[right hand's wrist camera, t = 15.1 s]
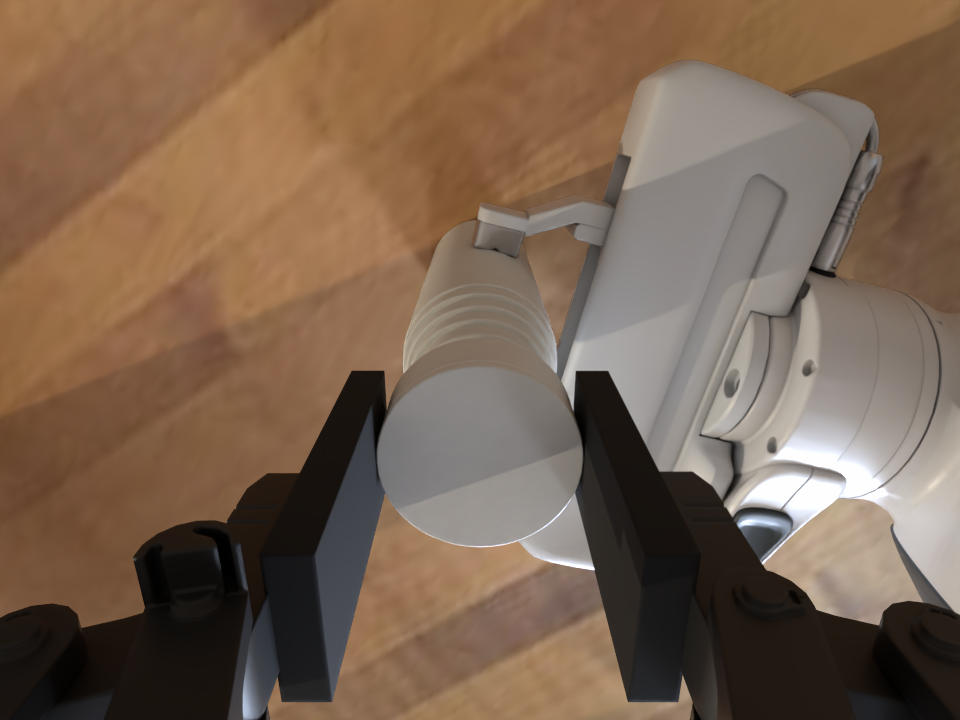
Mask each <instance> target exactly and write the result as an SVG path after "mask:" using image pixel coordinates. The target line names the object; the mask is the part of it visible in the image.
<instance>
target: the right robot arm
mask: <svg viewBox="0 0 960 720" xmlns="http://www.w3.org/2000/svg"><path fill="white" fill-rule="evenodd" d="M386 412H387V408H386V391H385V374H384V371H351V373H350V375H349V377H348V379H347V381H346V383H345V385H344V387H343V389H342V391H341V393H340V395H339V397H338V399H337V401H336V403H335V405H334V407H333V409H332V411H331V413H330V415H329V417H328V419H327V421H326V423H325V425H324V426H323V428H322V430H321V432H320V434H319V436H318V438H317V440H316V442H315V444H314V446H313V448H312V450H311V452H310V454H309V456H308V458H307V460H306V462H305V464H304V466H303V468H302V470H301V472H300V473H267V474H266V475H265V476H263V477H262V478H261V479H259V480H258V481H257V482H255V483H254V484H253V485H251V486H250V487H249V488H247V490H246V491H245V493H244V494H243V496H242V498H241V499H240V501H239V502H238V504H237V506H236V509H234V510H233V512H232V514H231V515H230V517H229V518H228V520H227V524H226V523H223V522H219V521H194V522H189V523H185V524H181V525H176V526H174V527H172V528H170V529H167V530H165V531H163V532H160V533H158V534H157V535H155V536H154V537H152V538H151V539H150V540H148V541H147V542H146V543H144V544H143V545H142V546H141V547H140V549H139V550H138V551H137V553H136V554H135V555H134V557H133V560H134V564H135V568H136V572H137V576H138V580H139V584H140V589H141V593H142V597H143V601H144V605H145V609H144V612H143V613H141V614H138V615H134V616H131V617H128V618H124V619H120V620H115V621H111V622H106V623H102V624H98V625H93V626H89V627H85V628H81V625H80V621H79V618H78V615H77V614H76V613H75V612H74V611H73V610H72V609H71V608H69V607H68V606H63V605H58V604H44V605H36V606H30V607H27V608H24V609H21V610H17V611H15V612H12V613H9V614H7V615H5V616H3V617H1V618H0V720H270V717H269V711H268V705H267V704H268V701H269V699H270V696H271V693H272V690H273V688H274V685H275V682H276V679H277V677H278V681H279V687H280V694H281V700H282V702H332V700H333V696H334V692H335V688H336V684H337V680H338V676H339V672H340V668H341V664H342V660H343V657H344V653H345V649H346V645H347V641H348V637H349V633H350V629H351V625H352V621H353V617H354V613H355V609H356V605H357V601H358V597H359V594H360V590H361V586H362V582H363V578H364V574H365V570H366V566H367V562H368V558H369V554H370V550H371V546H372V542H373V538H374V534H375V531H376V527H377V523H378V519H379V515H380V511H381V507H382V503H383V499H384V495H385V491H384V489H383V487H382V484H381V481H380V478H379V474H378V469H377V462H376V450H377V443H378V437H379V434H380V431H381V428H382V425H383V421H384V418H385V415H386ZM573 412H574V415H575V418H576V422H577V425H578V428H579V431H580V434H581V437H582V443H583V455H584V461H583V469H582V474H581V478H580V481H579V484H578V486H577V489H576V491H575V495H576V499H577V503H578V507H579V511H580V515H581V519H582V523H583V527H584V531H585V534H586V538H587V542H588V546H589V550H590V554H591V558H592V562H593V566H594V570H595V574H596V578H597V582H598V586H599V590H600V594H601V598H602V601H603V605H604V609H605V613H606V617H607V621H608V625H609V629H610V633H611V637H612V641H613V645H614V649H615V653H616V657H617V661H618V664H619V668H620V672H621V676H622V680H623V684H624V688H625V692H626V696H627V700H628V702H678V700H679V694H680V687H681V681H682V675H683V676H684V679H685V682H686V685H687V687H688V690H689V693H690V696H691V698H692V701H693V705H692V711H691V716H690V720H960V615H959V614H957V613H955V612H954V611H951V610H948V609H945V608H942V607H939V606H936V605H933V604H930V603H921V602H913V601H906V602H900V603H894V604H892V605H891V606H889V607H888V608H887V609H886V610H885V611H884V612H883V615H882V618H881V621H880V625H879V626H878V625H874V624H869V623H865V622H860V621H856V620H852V619H847V618H843V617H838V616H834V615H831V614H828V613H824V612H821V611H818V610H816V608H815V606H814V605H813V603H812V601H811V600H810V598H809V597H808V595H807V594H806V593H805V592H804V591H803V590H802V589H800V588H799V587H798V586H797V585H796V584H794V583H793V582H792V581H790V580H788V579H786V578H784V577H782V576H780V575H778V574H776V573H774V572H770V571H766V569H765V568H764V566H763V565H762V563H761V561H760V560H759V558H758V557H757V555H756V554H755V552H754V550H753V549H752V547H751V546H750V544H749V542H748V541H747V539H746V538H745V536H744V535H743V533H742V531H741V530H740V528H739V527H738V525H737V524H736V522H733V517H732V516H731V514H730V513H729V511H728V509H727V508H726V507H724V503H723V501H722V500H721V498H720V497H719V495H718V494H717V492H716V490H715V489H714V487H713V486H712V485H710V484H709V483H708V482H706V481H705V480H704V479H702V478H701V477H699V476H698V475H697V474H695V473H694V472H693V471H659V470H658V468H657V466H656V464H655V462H654V460H653V458H652V456H651V454H650V452H649V450H648V448H647V446H646V444H645V442H644V440H643V438H642V436H641V434H640V432H639V430H638V428H637V427H636V425H635V423H634V421H633V419H632V417H631V415H630V413H629V411H628V409H627V407H626V405H625V403H624V401H623V399H622V397H621V395H620V393H619V391H618V389H617V387H616V385H615V383H614V381H613V379H612V377H611V375H610V373H609V371H576V374H575V391H574V407H573Z"/></svg>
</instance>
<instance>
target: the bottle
mask: <svg viewBox="0 0 960 720" xmlns="http://www.w3.org/2000/svg"><path fill="white" fill-rule="evenodd" d="M475 225H476V220H472V221H467V222H464V223H461V224H459V225H457V226H455V227H454V228H452V229H451V230H450V231H448V232H447V233H446V234H445V235H444V236H443V237H442V239H441V240H440V242H439V243H438V245H437V247H436V249H435V252H434V255H433V258H432V261H431V264H430V267H429V270H428V272H427V275H426V278H425V281H424V284H423V287H422V290H421V293H420V296H419V299H418V302H417V305H416V308H415V311H414V313H413V316H412V319H411V322H410V325H409V328H408V331H407V334H406V337H405V342H404V349H403V373H405V372H406V371H407V369H408V368H409V367H410V366H411V365H412V364H413V363H414V362H416V361H417V360H418V359H419V358H420V357H422V356H423V355H425V354H426V353H428V352H429V351H431V350H433V349H435V348H437V347H439V346H441V345H444V344H447V343H450V342H453V341H458V340H463V339H471V338H489V339H497V340H502V341H506V342H510V343H513V344H516V345H518V346H521V347H523V348H525V349H527V350H529V351H530V352H532V353H534V354H535V355H537V356H538V357H540V358H541V359H542V360H543V361H544V362H546V363H547V364H548V365H549V366H550V367H551V368H552V369H553V371H554V372H555V373H556V372H557V350H556V342H555V338H554V334H553V331H552V328H551V325H550V322H549V319H548V316H547V313H546V311H545V308H544V305H543V302H542V299H541V296H540V293H539V290H538V287H537V284H536V281H535V278H534V276H533V273H532V270H531V267H530V264H529V261H528V258H527V255H526V252H525V250H524V247H523V245H522V244H521V248H520V251H519V255H518V257H514V256H510V255H506V254H503V253H500V252H499V251H498V250H497V249H496V248H494V249H491V250H485V249H481V248H478V247H476V246H474V245H472V238H473V234H474V229H475Z"/></svg>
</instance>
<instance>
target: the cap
mask: <svg viewBox="0 0 960 720" xmlns="http://www.w3.org/2000/svg"><path fill="white" fill-rule="evenodd" d="M583 461H584V455H583V443H582V437H581V434H580V431H579V428H578V425H577V422H576V418H575V415H574V412H573V409H572V406H571V403H570V400H569V397H568V393H567V391H566V389H565V387H564V385H563V383H562V381H561V380H560V379H559V377H558V376H557V374H556V373H555V372H554V371H553V369H552V368H551V367H550V366H549V365H548V364H547V363H546V362H544V361H543V360H542V359H541V358H540V357H538V356H537V355H535V354H534V353H532V352H530V351H529V350H527V349H525V348H523V347H521V346H518V345H516V344H513V343H510V342H506V341H502V340H497V339H489V338H471V339H463V340H458V341H453V342H450V343H447V344H444V345H441V346H439V347H437V348H435V349H433V350H431V351H429V352H428V353H426V354H425V355H423V356H422V357H420V358H419V359H418V360H417V361H416V362H414V363H413V364H412V365H411V366H410V367H409V368H408V369H407V371H406V372H405V373H404V374H403V375H402V377H401V378H400V380H399V382H398V383H397V385H396V387H395V389H394V391H393V393H392V396H391V399H390V403H389V406H388V409H387V412H386V415H385V418H384V421H383V425H382V428H381V431H380V434H379V437H378V443H377V450H376V462H377V469H378V474H379V478H380V481H381V484H382V487H383V489H384V491H385V493H386V495H387V497H388V498H389V500H390V502H391V503H392V505H393V506H394V507H395V509H396V510H397V511H398V512H399V513H400V514H401V515H402V516H403V517H404V518H405V519H406V520H407V521H408V522H409V523H410V524H412V525H413V526H415V527H416V528H418V529H419V530H420V531H422V532H424V533H426V534H428V535H430V536H432V537H434V538H437V539H439V540H442V541H445V542H448V543H452V544H456V545H462V546H469V547H490V546H498V545H504V544H508V543H512V542H515V541H519V540H521V539H523V538H526V537H528V536H530V535H532V534H534V533H536V532H538V531H539V530H541V529H543V528H544V527H545V526H547V525H548V524H549V523H551V522H552V521H553V520H554V519H555V518H556V517H557V516H558V515H559V514H560V513H561V512H562V511H563V510H564V508H565V507H566V506H567V505H568V503H569V502H570V500H571V498H572V497H573V495H574V493H575V491H576V489H577V486H578V484H579V481H580V478H581V474H582V469H583Z"/></svg>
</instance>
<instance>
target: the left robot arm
mask: <svg viewBox="0 0 960 720" xmlns="http://www.w3.org/2000/svg"><path fill="white" fill-rule="evenodd" d="M879 137H880V136H879V127H878V123H877V120H876V118H875V116H874V113H873V111H872V110H871V109H870V108H869V107H868V106H866V105H865V104H864V103H862V102H861V101H859V100H857V99H855V98H851V97H848V96H844V95H840V94H837V93H833V92H830V91H826V90H823V89H814V88H813V89H804V90H800V91H797V92H794V93H792V94H790V95H787V94H785V93H782V92H780V91H778V90H776V89H774V88H772V87H770V86H767V85H765V84H763V83H761V82H758V81H756V80H754V79H751V78H749V77H746V76H744V75H741V74H739V73H736V72H733V71H730V70H728V69H725V68H722V67H719V66H716V65H713V64H710V63H706V62H703V61H698V60H680V61H675V62H672V63H670V64H668V65H666V66H664V67H662V68H660V69H658V70H656V71H655V72H653V73H651V74H650V75H648V76H646V77H645V78H643V79H642V80H641V81H640V83H639V84H638V87H637V89H636V92H635V95H634V98H633V102H632V105H631V108H630V111H629V115H628V118H627V121H626V125H625V128H624V131H623V134H622V138H621V141H620V144H619V147H618V151H617V154H616V157H615V160H614V164H613V167H612V170H611V173H610V177H609V180H608V183H607V186H606V190H605V193H604V196H603V199H602V201H599V200H595V199H591V198H587V197H583V196H579V195H575V194H574V195H571V196H568V197H564V198H561V199H558V200H555V201H551V202H548V203H545V204H541V205H538V206H535V207H532V208H528V209H526V212H522V211H518V210H514V209H510V208H506V207H502V206H498V205H494V204H490V203H480V207H479V212H478V215H477V220H476V225H475V229H474V234H473V238H472V245H474V246H476V247H478V248H481V249H485V250H491V249H494V248H496V249H497V250H498V251H499V252H500V253H503V254H506V255H510V256H514V257H518V255H519V251H520V248H521V244H522V241H523V238H524V236H525V237H526V236H530V235H533V234H537V233H541V232H544V231H548V230H551V229H555V228H559V227H562V226H566V227H567V229H568V231H569V232H570V233H571V234H572V235H573V237H574V238H575V239H576V240H580V241H584V242H587V243H589V245H588V248H587V252H586V255H585V258H584V261H583V265H582V268H581V271H580V274H579V278H578V281H577V284H576V287H575V291H574V294H573V297H572V300H571V304H570V307H569V310H568V314H567V317H566V320H565V323H564V327H563V330H562V333H561V336H560V340H559V343H558V346H557V349H556V350H557V372H556V374H557V376H558V377H559V379H560V380H561V381H562V383H563V385H564V387H565V389H566V391H567V393H568V397H569V400H570V403H571V406H572V409H573V407H574V391H575V374H576V371H609V373H610V375H611V377H612V379H613V381H614V383H615V385H616V387H617V389H618V391H619V393H620V395H621V397H622V399H623V401H624V403H625V405H626V407H627V409H628V411H629V413H630V415H631V417H632V419H633V421H634V423H635V425H636V427H637V428H638V430H639V432H640V434H641V436H642V438H643V440H644V442H645V444H646V446H647V448H648V450H649V452H650V454H651V456H652V458H653V460H654V462H655V464H656V466H657V468H658V470H659V471H693V472H694V473H695V474H697V475H698V476H699V477H701V478H702V479H704V480H705V481H706V482H708V483H709V484H710V485H712V486H713V487H714V489H715V490H716V492H717V494H718V495H719V497H720V498H721V500H722V501H723V503H724V507H726V508H727V509H728V511H729V513H730V514H731V516H732V517H733V522H736V524H737V525H738V527H739V528H740V530H741V531H742V533H743V535H744V536H745V538H746V539H747V541H748V542H749V544H750V546H751V547H752V549H753V550H754V552H755V554H756V555H757V557H758V558H759V560H760V561H761V563H762V565H763V564H764V563H765V562H766V561H767V560H768V559H769V558H770V557H771V556H772V555H773V554H774V553H775V552H776V550H777V549H778V548H780V547H781V546H782V545H783V544H784V543H785V542H786V541H787V540H788V539H789V538H790V537H791V536H792V535H793V534H794V533H795V532H796V531H798V530H799V529H800V528H801V527H802V526H803V525H805V524H806V523H807V522H808V521H809V520H811V519H812V518H813V517H814V516H816V515H817V514H818V513H820V512H821V511H822V510H824V509H825V508H826V507H828V506H829V505H830V504H832V503H833V502H834V501H835V500H836V499H837V498H844V499H866V500H869V501H872V502H874V503H876V504H878V505H879V506H881V507H882V508H883V509H885V510H886V511H887V512H888V513H889V514H890V515H891V516H892V518H893V520H894V524H892V525H891V533H892V537H893V540H894V542H895V545H896V547H897V550H898V552H899V554H900V557H901V559H902V561H903V563H904V565H905V567H906V569H907V571H908V573H909V575H910V577H911V579H912V581H913V583H914V585H915V587H916V588H917V590H918V592H919V594H920V596H921V599H922V601H923V603H930V604H933V605H936V606H939V607H942V608H945V609H948V610H951V611H954V612H955V613H957V614H959V615H960V313H942V312H939V311H937V310H935V309H933V308H932V307H930V306H929V305H928V304H926V303H924V302H923V301H921V300H919V299H917V298H915V297H913V296H911V295H908V294H906V293H903V292H899V291H895V290H892V289H888V288H884V287H880V286H876V285H872V284H868V283H864V282H860V281H856V280H852V279H848V278H844V277H840V276H836V275H835V271H836V269H837V267H838V265H839V263H840V261H841V258H842V256H843V254H844V252H845V249H846V247H847V245H848V243H849V241H850V238H851V236H852V233H853V231H854V228H853V227H854V226H855V224H856V219H857V218H858V215H859V213H858V212H859V211H860V210H861V207H862V204H863V203H864V201H865V199H866V197H867V194H868V192H871V191H872V189H873V187H874V186H875V184H876V182H877V179H878V177H879V175H880V172H881V169H882V165H883V160H884V156H883V155H881V154H878V153H877V150H878V146H879ZM865 139H866V145H865V150H861V148H862V146H863V144H864V142H865ZM519 543H520V544H521V545H522V546H523V547H524V548H525V549H526V550H527V551H528V552H529V553H530V554H531V555H533V556H534V557H536V558H539V559H541V560H544V561H548V562H552V563H556V564H561V565H566V566H571V567H577V568H583V569H589V570H594V566H593V562H592V558H591V554H590V550H589V546H588V542H587V538H586V534H585V531H584V527H583V523H582V519H581V515H580V511H579V507H578V503H577V499H576V495H575V493H574V495H573V497H572V498H571V500H570V502H569V503H568V505H567V506H566V507H565V508H564V510H563V511H562V512H561V513H560V514H559V515H558V516H557V517H556V518H555V519H554V520H553V521H552V522H551V523H549V524H548V525H547V526H545V527H544V528H543V529H541V530H539V531H538V532H536V533H534V534H532V535H530V536H528V537H526V538H523V539H521V540H519Z"/></svg>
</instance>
